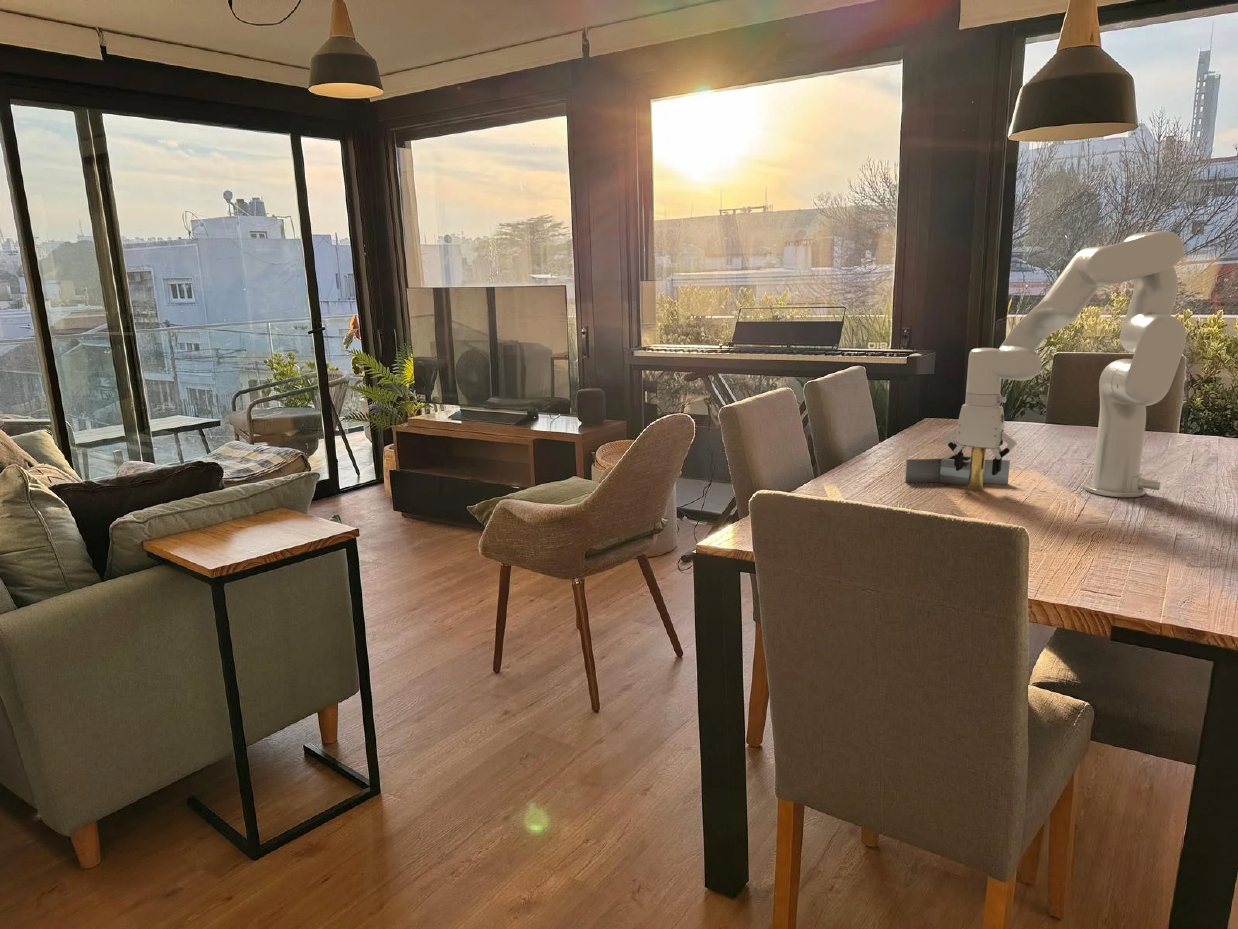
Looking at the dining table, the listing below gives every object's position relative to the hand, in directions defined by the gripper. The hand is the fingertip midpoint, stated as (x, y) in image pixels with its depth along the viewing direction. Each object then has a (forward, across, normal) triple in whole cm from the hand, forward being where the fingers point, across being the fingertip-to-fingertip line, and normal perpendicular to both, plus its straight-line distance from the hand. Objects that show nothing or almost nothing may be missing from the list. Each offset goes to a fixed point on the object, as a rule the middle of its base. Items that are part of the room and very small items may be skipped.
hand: (976, 471), depth 204 cm
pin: (+5, 0, 0) cm, 5 cm away
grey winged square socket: (+5, +6, -4) cm, 8 cm away
